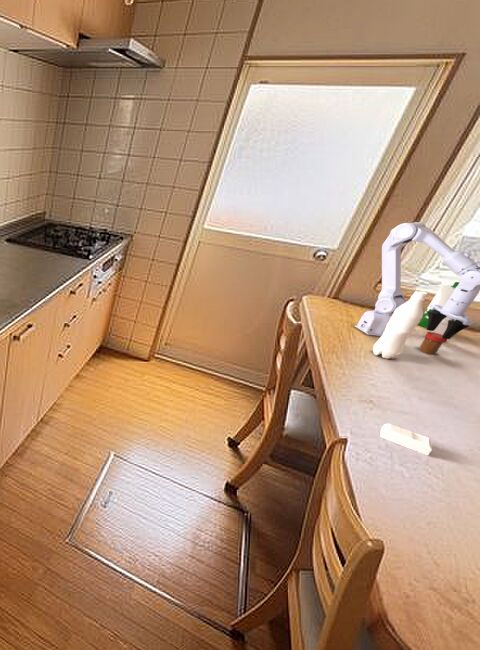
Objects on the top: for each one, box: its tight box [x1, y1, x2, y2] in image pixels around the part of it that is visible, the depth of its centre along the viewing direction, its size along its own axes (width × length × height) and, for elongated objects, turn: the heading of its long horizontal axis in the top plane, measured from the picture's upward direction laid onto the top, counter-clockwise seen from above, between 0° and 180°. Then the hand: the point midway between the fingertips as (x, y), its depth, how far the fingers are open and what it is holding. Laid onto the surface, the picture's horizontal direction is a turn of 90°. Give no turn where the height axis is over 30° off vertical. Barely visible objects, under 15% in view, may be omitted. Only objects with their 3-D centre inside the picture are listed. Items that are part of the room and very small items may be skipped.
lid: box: [424, 331, 448, 343], centre depth 157 cm, size 6×6×2 cm
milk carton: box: [417, 281, 460, 329], centre depth 178 cm, size 9×9×20 cm
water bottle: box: [372, 290, 428, 360], centre depth 148 cm, size 7×7×25 cm
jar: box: [418, 337, 444, 355], centre depth 158 cm, size 5×5×6 cm
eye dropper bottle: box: [428, 316, 452, 335], centre depth 168 cm, size 4×6×12 cm
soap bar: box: [380, 423, 433, 457], centre depth 108 cm, size 5×9×3 cm, turn 46°
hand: (437, 334), depth 156 cm, fingers open, 6 cm apart
